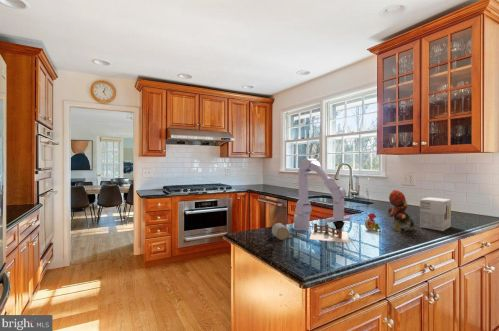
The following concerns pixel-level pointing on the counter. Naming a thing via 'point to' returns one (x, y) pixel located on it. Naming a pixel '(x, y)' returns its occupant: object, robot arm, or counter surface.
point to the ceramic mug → (281, 231)
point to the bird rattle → (371, 222)
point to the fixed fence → (321, 228)
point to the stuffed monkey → (399, 210)
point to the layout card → (329, 236)
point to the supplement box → (435, 213)
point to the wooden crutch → (335, 232)
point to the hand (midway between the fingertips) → (338, 234)
